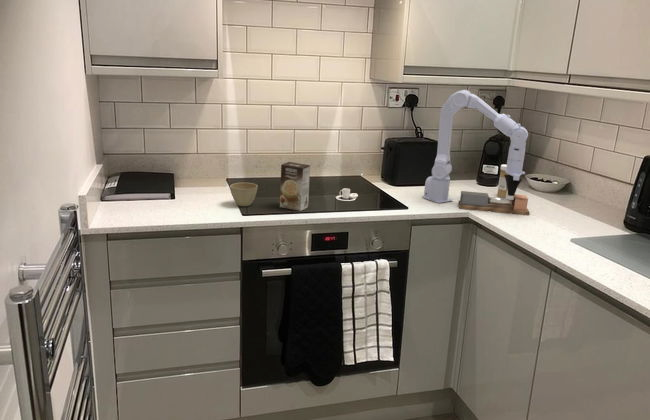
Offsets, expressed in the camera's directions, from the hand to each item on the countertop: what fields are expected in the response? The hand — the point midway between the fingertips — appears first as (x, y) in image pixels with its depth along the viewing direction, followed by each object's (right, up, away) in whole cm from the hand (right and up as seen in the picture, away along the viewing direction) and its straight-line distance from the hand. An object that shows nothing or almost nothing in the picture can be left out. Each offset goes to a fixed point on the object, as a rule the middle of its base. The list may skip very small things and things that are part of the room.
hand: (510, 194), depth 204 cm
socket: (+4, -5, +1) cm, 6 cm away
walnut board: (-6, -5, +3) cm, 8 cm away
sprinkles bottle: (+4, 0, +22) cm, 23 cm away
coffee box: (-82, -5, -7) cm, 83 cm away
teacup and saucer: (-60, -2, +7) cm, 61 cm away
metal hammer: (-3, -4, +2) cm, 5 cm away
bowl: (-101, -4, -7) cm, 101 cm away
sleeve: (-13, -4, +4) cm, 14 cm away
